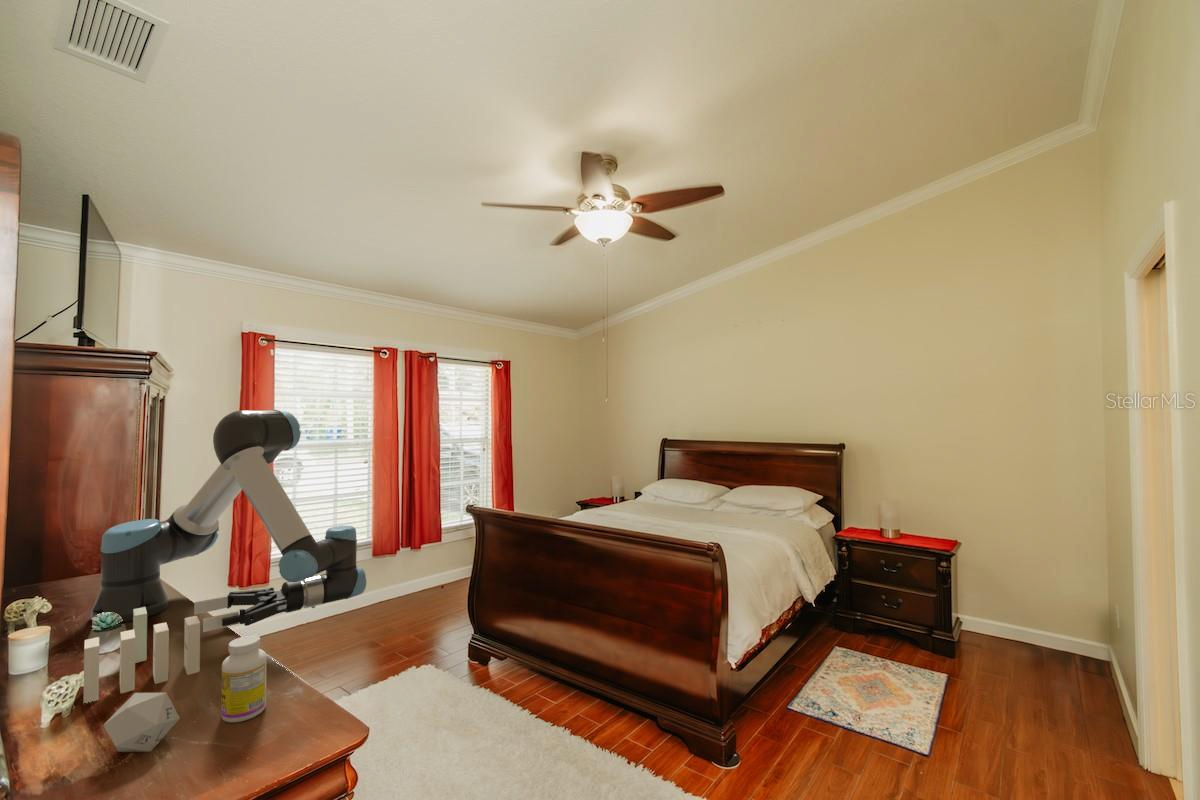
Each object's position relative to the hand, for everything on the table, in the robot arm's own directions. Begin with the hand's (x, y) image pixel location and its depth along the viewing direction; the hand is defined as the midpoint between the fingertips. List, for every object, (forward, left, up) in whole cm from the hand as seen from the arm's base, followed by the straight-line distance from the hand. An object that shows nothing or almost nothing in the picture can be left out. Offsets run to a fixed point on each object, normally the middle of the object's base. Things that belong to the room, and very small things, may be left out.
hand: (198, 616), depth 121 cm
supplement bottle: (+37, +16, -6) cm, 41 cm away
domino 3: (+3, -10, -6) cm, 12 cm away
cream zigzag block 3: (+16, -2, -6) cm, 17 cm away
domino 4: (+14, +2, -6) cm, 15 cm away
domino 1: (+19, -12, -6) cm, 23 cm away
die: (+41, +3, -6) cm, 42 cm away
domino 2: (+17, -7, -6) cm, 20 cm away
